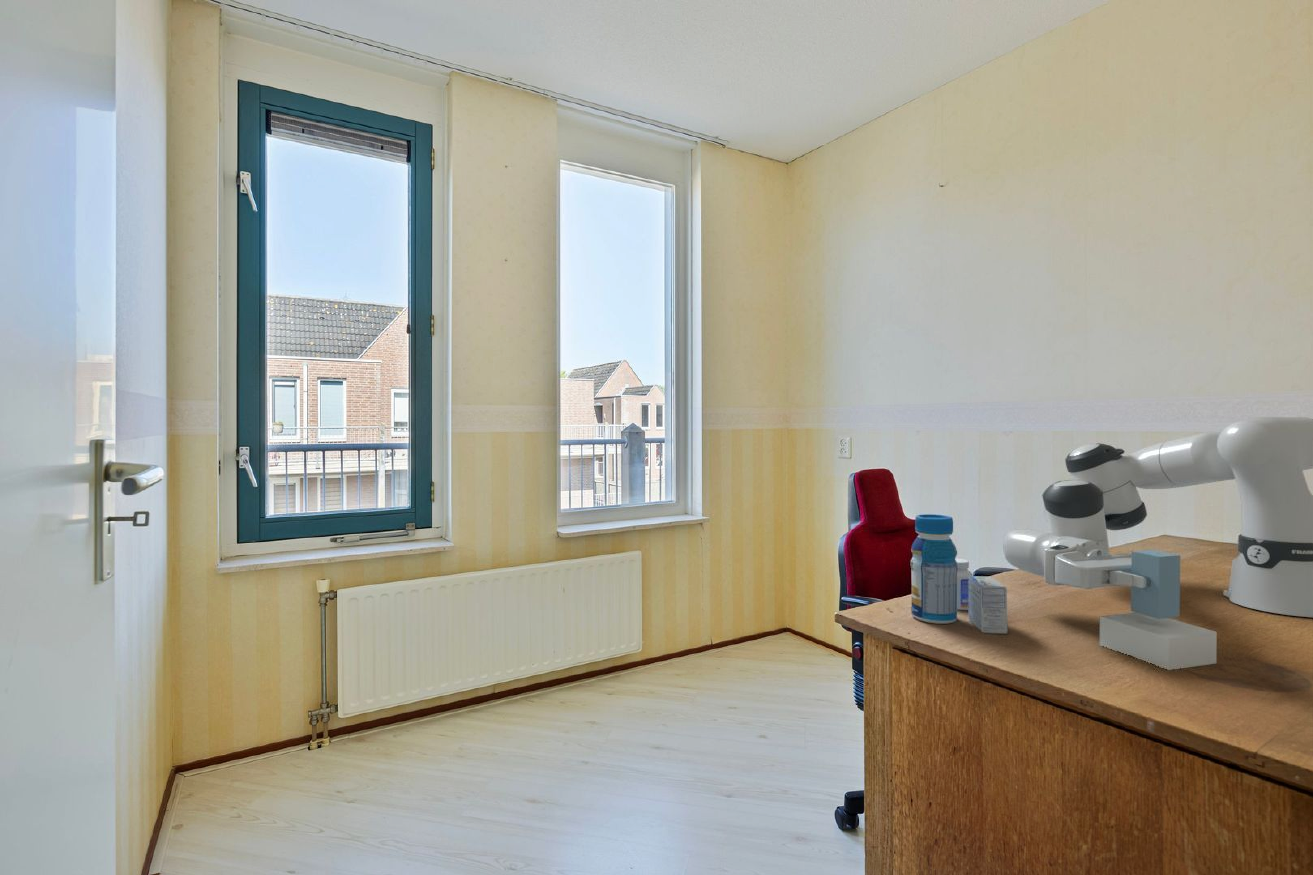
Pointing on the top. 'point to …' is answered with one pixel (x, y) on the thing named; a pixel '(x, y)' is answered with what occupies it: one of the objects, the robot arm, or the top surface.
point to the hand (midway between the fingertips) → (1161, 581)
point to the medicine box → (987, 604)
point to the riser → (1159, 640)
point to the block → (1156, 584)
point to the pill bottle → (962, 584)
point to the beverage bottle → (934, 570)
